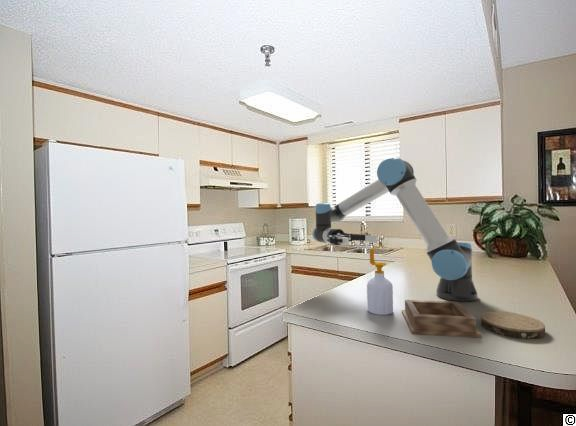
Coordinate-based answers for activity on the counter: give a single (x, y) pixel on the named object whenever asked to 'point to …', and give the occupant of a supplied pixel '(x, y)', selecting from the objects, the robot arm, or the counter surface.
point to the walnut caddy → (439, 318)
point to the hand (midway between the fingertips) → (362, 240)
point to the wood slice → (513, 325)
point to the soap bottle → (379, 290)
